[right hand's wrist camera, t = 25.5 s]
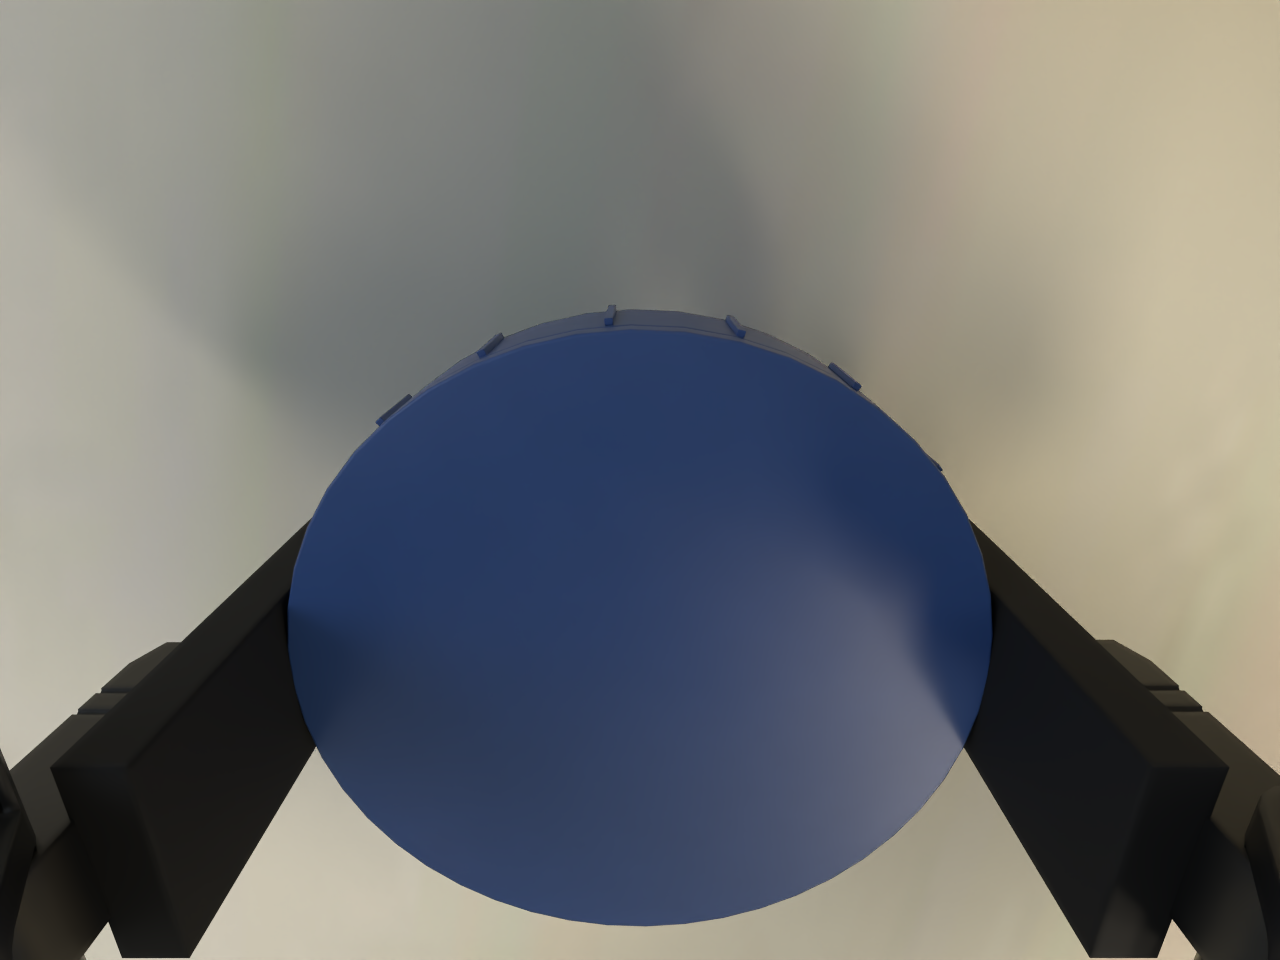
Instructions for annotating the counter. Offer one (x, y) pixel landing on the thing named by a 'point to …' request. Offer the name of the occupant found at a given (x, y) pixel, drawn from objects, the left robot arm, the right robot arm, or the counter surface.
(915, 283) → the counter surface
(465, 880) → the lid
